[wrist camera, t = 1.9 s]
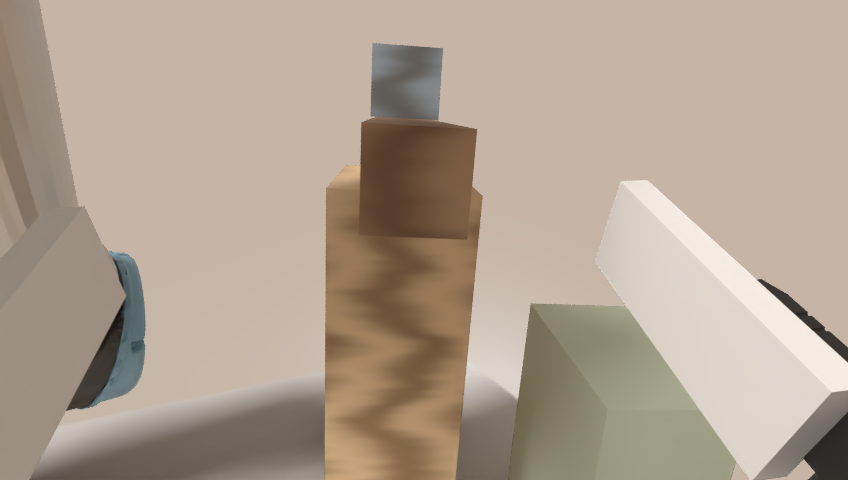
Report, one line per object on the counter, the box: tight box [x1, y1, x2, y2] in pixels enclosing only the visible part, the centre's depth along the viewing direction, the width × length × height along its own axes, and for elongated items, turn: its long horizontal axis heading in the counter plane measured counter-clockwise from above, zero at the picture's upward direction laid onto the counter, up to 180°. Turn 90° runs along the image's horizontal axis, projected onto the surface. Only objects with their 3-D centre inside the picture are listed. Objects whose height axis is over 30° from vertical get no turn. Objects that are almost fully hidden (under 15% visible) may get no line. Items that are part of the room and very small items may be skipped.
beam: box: [359, 43, 477, 240], centre depth 27 cm, size 5×24×9 cm, turn 4°
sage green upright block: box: [508, 304, 736, 480], centre depth 34 cm, size 8×14×20 cm, turn 4°
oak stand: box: [325, 165, 482, 480], centre depth 36 cm, size 9×12×30 cm
